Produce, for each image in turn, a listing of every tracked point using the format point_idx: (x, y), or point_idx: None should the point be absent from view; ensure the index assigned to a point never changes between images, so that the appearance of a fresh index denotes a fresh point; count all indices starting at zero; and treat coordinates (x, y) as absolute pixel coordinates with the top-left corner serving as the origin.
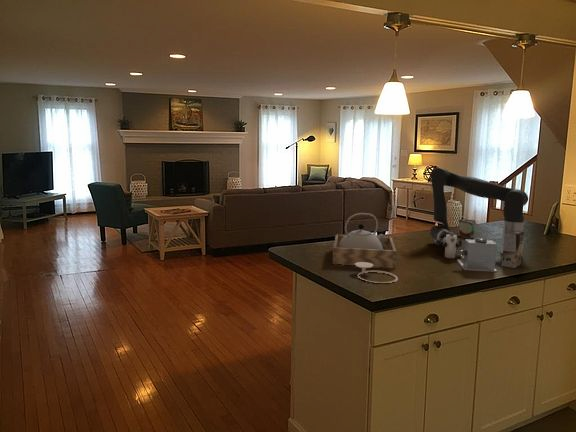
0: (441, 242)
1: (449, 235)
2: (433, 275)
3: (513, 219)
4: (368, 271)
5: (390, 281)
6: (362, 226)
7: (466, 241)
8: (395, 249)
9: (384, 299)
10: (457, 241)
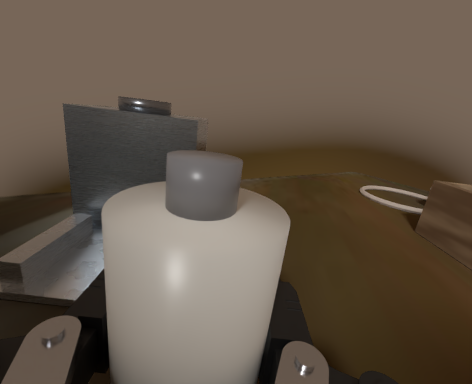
0: (334, 380)
1: (238, 206)
2: (300, 201)
3: None
4: None
5: (365, 186)
6: None
7: (202, 124)
8: (454, 187)
9: (345, 172)
10: (56, 324)
